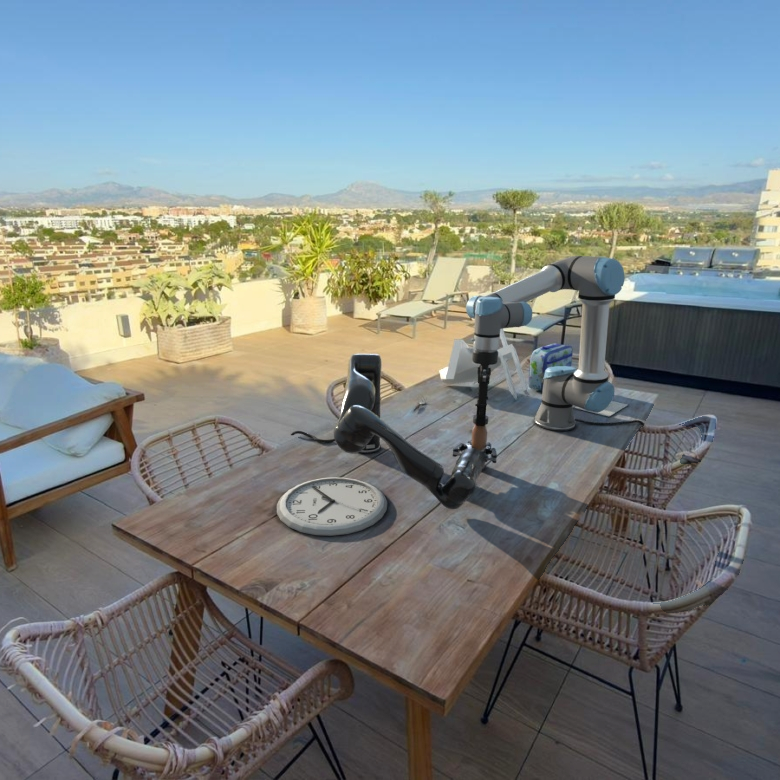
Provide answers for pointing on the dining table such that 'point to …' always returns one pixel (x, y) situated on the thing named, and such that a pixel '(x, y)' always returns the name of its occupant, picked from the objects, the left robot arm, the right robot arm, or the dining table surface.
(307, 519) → the wall clock
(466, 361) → the white plastic object
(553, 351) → the lunch box
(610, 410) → the invitation card
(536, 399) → the dining table surface
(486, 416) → the cap
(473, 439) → the bottle
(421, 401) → the fork
